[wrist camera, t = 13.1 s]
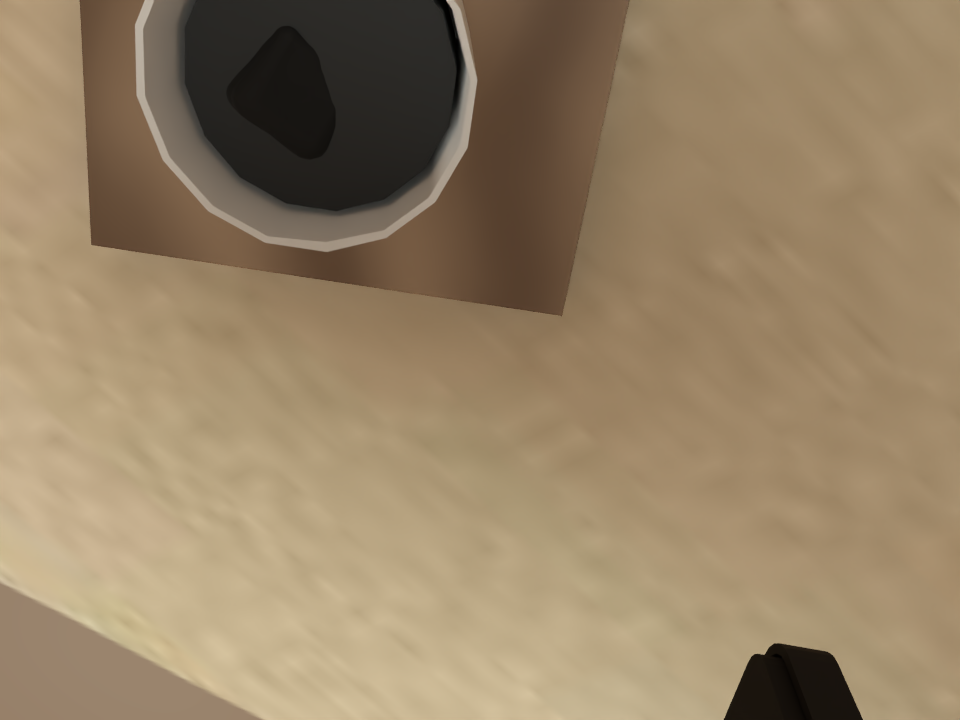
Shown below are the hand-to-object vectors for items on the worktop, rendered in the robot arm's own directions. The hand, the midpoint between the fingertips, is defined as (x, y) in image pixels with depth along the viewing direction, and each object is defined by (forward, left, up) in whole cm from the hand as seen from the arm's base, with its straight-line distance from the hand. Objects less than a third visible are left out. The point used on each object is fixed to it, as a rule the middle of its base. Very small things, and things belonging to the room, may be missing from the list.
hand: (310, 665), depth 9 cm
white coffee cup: (+2, -4, -21) cm, 21 cm away
